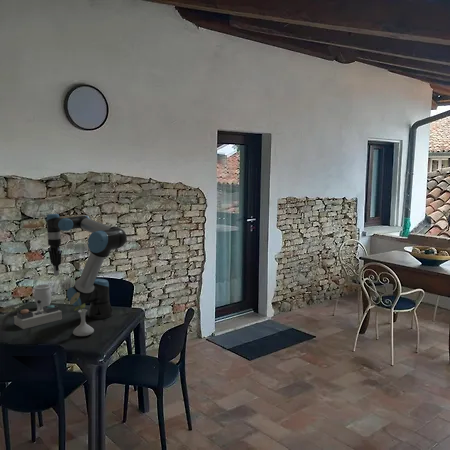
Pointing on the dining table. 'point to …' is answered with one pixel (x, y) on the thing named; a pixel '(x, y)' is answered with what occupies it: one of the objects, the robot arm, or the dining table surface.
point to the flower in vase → (83, 327)
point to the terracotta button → (24, 311)
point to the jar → (43, 295)
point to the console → (38, 317)
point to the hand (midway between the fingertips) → (56, 275)
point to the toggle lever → (38, 305)
